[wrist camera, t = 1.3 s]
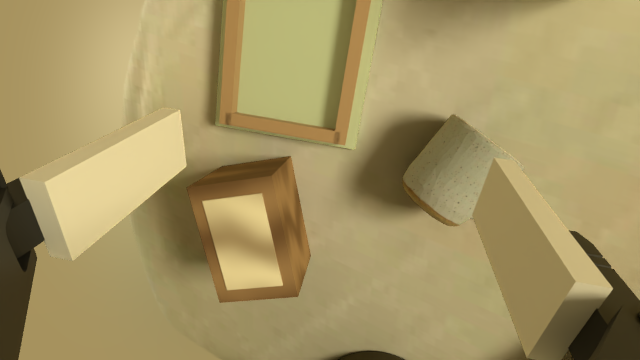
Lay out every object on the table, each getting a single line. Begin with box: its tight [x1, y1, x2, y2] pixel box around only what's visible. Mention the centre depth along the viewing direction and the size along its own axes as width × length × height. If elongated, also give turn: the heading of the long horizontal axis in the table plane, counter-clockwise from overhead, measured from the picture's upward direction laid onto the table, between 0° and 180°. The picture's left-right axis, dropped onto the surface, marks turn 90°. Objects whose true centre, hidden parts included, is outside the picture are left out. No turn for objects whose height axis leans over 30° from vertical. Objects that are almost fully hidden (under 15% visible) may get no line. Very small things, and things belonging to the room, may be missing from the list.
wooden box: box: [187, 156, 311, 303], centre depth 35 cm, size 12×8×8 cm, turn 10°
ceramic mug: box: [402, 115, 524, 226], centre depth 31 cm, size 11×8×8 cm
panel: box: [215, 0, 383, 150], centre depth 32 cm, size 18×15×3 cm
